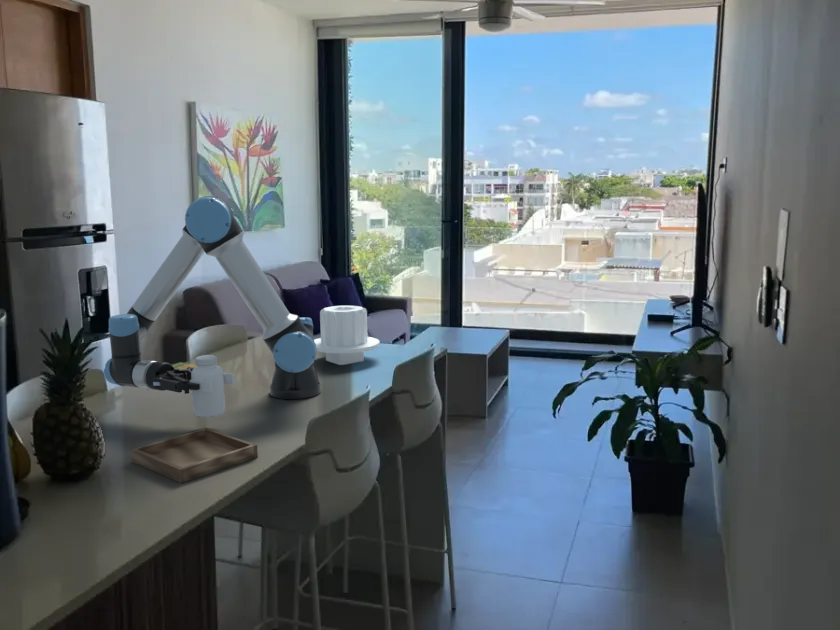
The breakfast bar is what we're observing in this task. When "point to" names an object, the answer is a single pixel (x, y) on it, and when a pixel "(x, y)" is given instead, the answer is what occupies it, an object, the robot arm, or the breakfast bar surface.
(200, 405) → the pill bottle
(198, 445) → the tray
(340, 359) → the flanged gear
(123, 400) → the breakfast bar surface
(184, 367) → the carton
